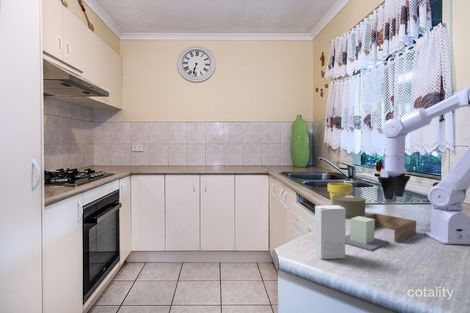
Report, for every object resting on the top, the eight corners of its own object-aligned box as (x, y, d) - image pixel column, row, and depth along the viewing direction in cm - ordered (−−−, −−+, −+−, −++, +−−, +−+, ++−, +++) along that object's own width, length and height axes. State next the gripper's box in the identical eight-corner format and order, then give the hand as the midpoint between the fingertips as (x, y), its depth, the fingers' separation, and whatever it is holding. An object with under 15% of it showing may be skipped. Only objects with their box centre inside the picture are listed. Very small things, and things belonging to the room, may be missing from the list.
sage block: (374, 240, 80) (374, 219, 80) (366, 244, 77) (366, 221, 77) (358, 236, 83) (359, 216, 83) (350, 239, 81) (350, 218, 80)
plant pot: (328, 202, 135) (328, 181, 134) (352, 204, 131) (352, 182, 131) (326, 207, 125) (326, 184, 125) (352, 209, 121) (352, 185, 121)
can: (329, 217, 108) (330, 199, 107) (333, 211, 118) (333, 194, 118) (365, 221, 102) (365, 202, 102) (365, 214, 113) (366, 196, 113)
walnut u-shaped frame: (415, 233, 88) (416, 220, 87) (397, 242, 80) (397, 228, 80) (374, 224, 97) (374, 213, 97) (354, 231, 90) (354, 219, 89)
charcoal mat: (389, 242, 79) (389, 241, 79) (371, 251, 73) (371, 249, 73) (354, 234, 87) (354, 232, 87) (335, 240, 81) (335, 239, 81)
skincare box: (337, 252, 72) (338, 204, 72) (346, 259, 68) (347, 208, 67) (313, 253, 72) (314, 204, 71) (320, 260, 67) (321, 208, 67)
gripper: (391, 155, 103) (391, 193, 103) (371, 156, 94) (370, 198, 94) (413, 156, 97) (412, 196, 98) (394, 157, 88) (393, 201, 89)
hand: (393, 197), depth 96 cm, fingers open, 7 cm apart
